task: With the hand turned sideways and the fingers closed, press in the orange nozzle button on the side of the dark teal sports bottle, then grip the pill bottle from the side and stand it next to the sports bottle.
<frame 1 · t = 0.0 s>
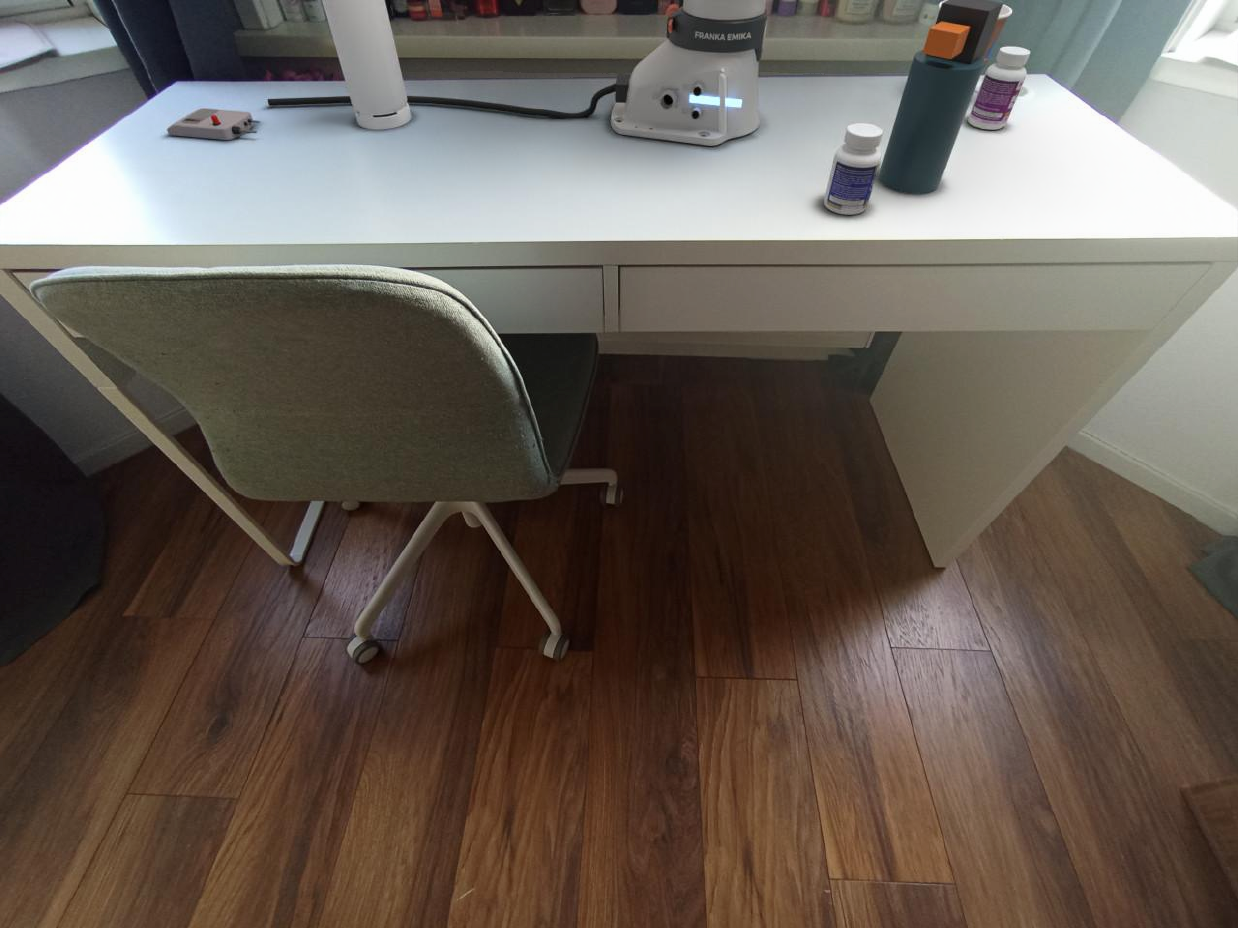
pill bottle 2: (844, 207, 79), on the table
sports bottle: (907, 180, 83), on the table
bottle: (385, 120, 97), on the table
pill bottle: (985, 125, 96), on the table
coffee cup: (944, 96, 104), on the table
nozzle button: (946, 40, 69), point 16 cm above the table, slide at -0.1 cm
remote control: (220, 131, 95), on the table
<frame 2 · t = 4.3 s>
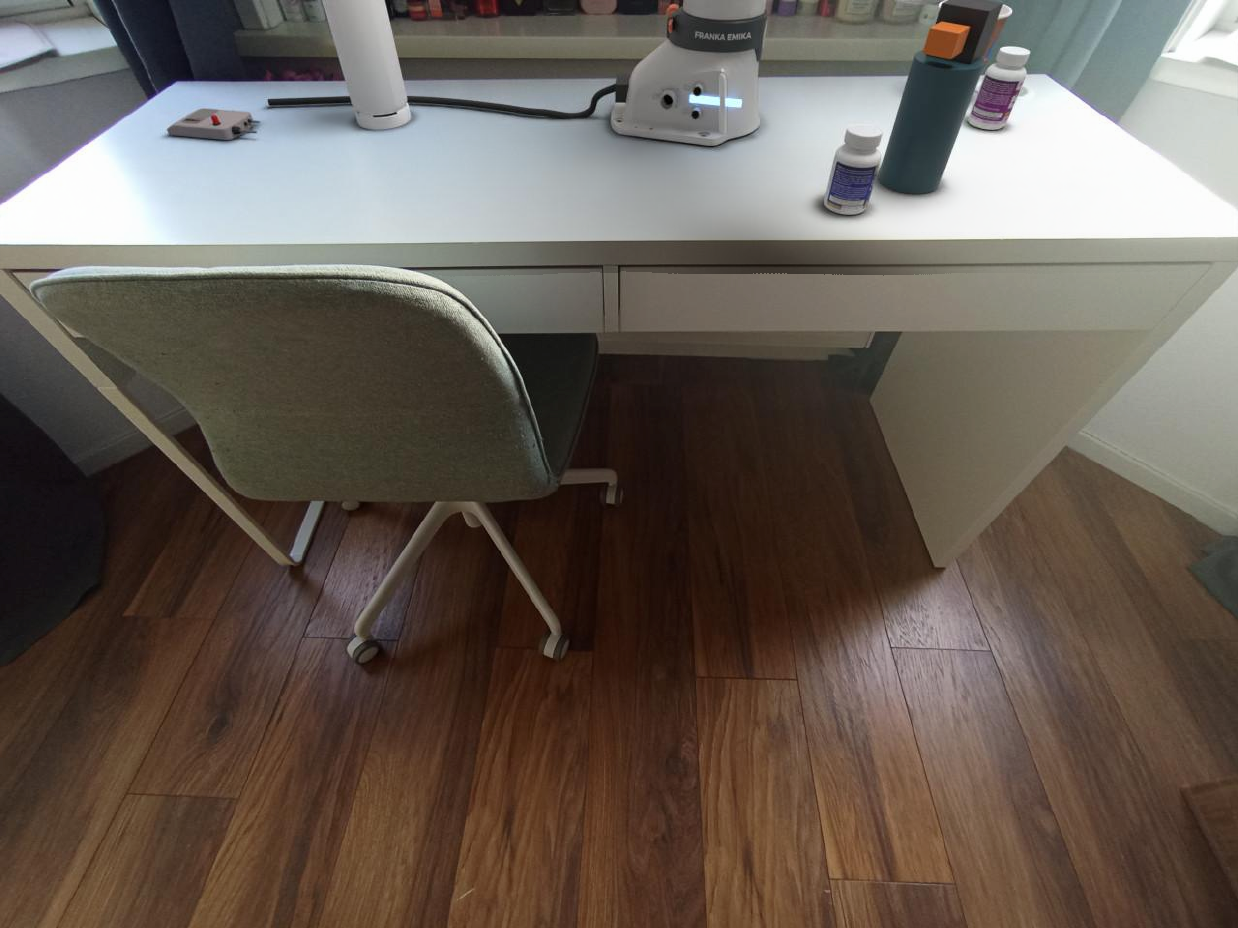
nothing on the table moved.
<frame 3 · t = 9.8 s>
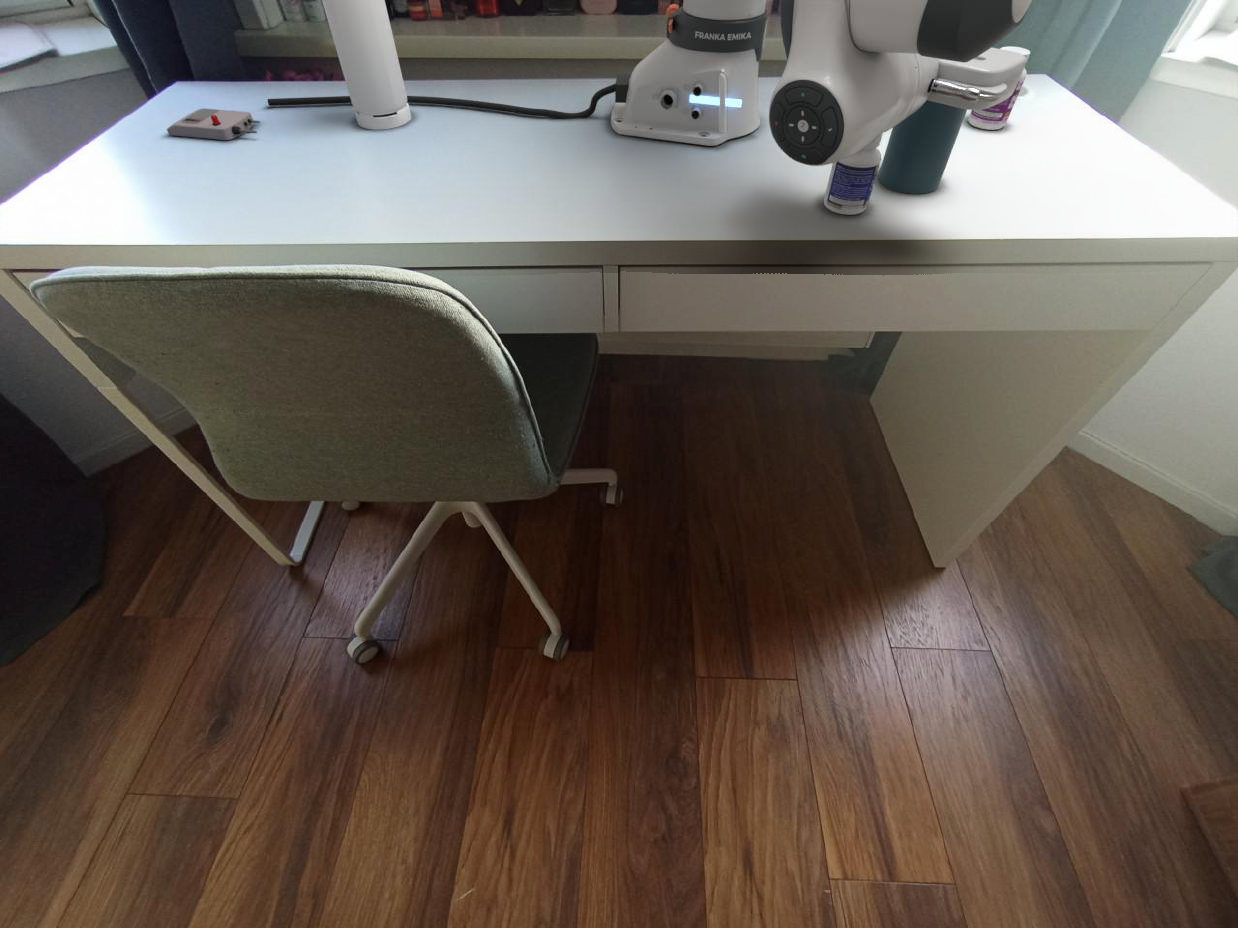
hand: (940, 43, 68), 16 cm above the table, tool horizontal, fingers closed, pressing on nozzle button
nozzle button: (947, 39, 69), point 16 cm above the table, slide at 0.3 cm, touching gripper
everything else where it was.
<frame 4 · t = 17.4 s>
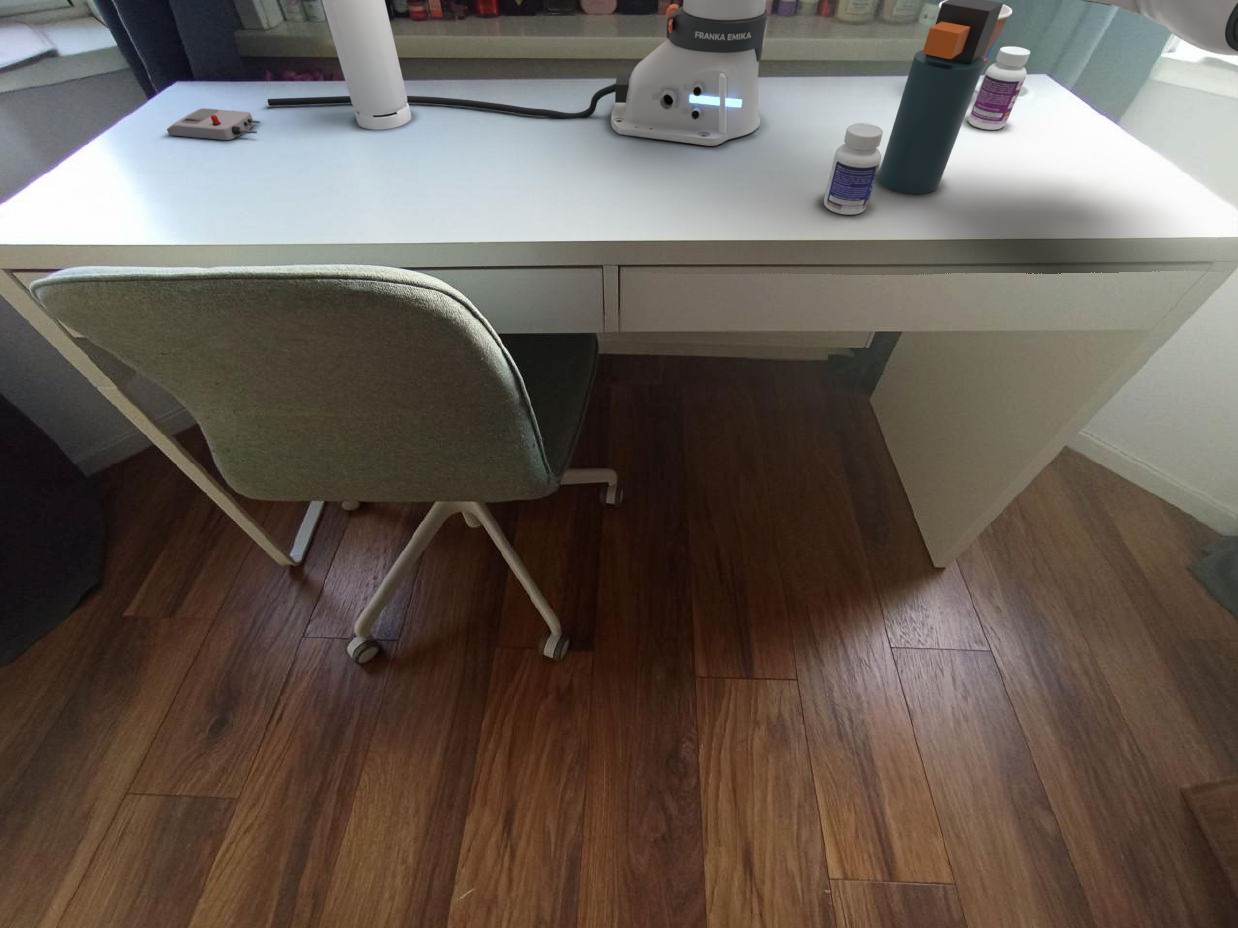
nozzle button: (946, 40, 69), point 16 cm above the table, slide at -0.1 cm
everything else where it was.
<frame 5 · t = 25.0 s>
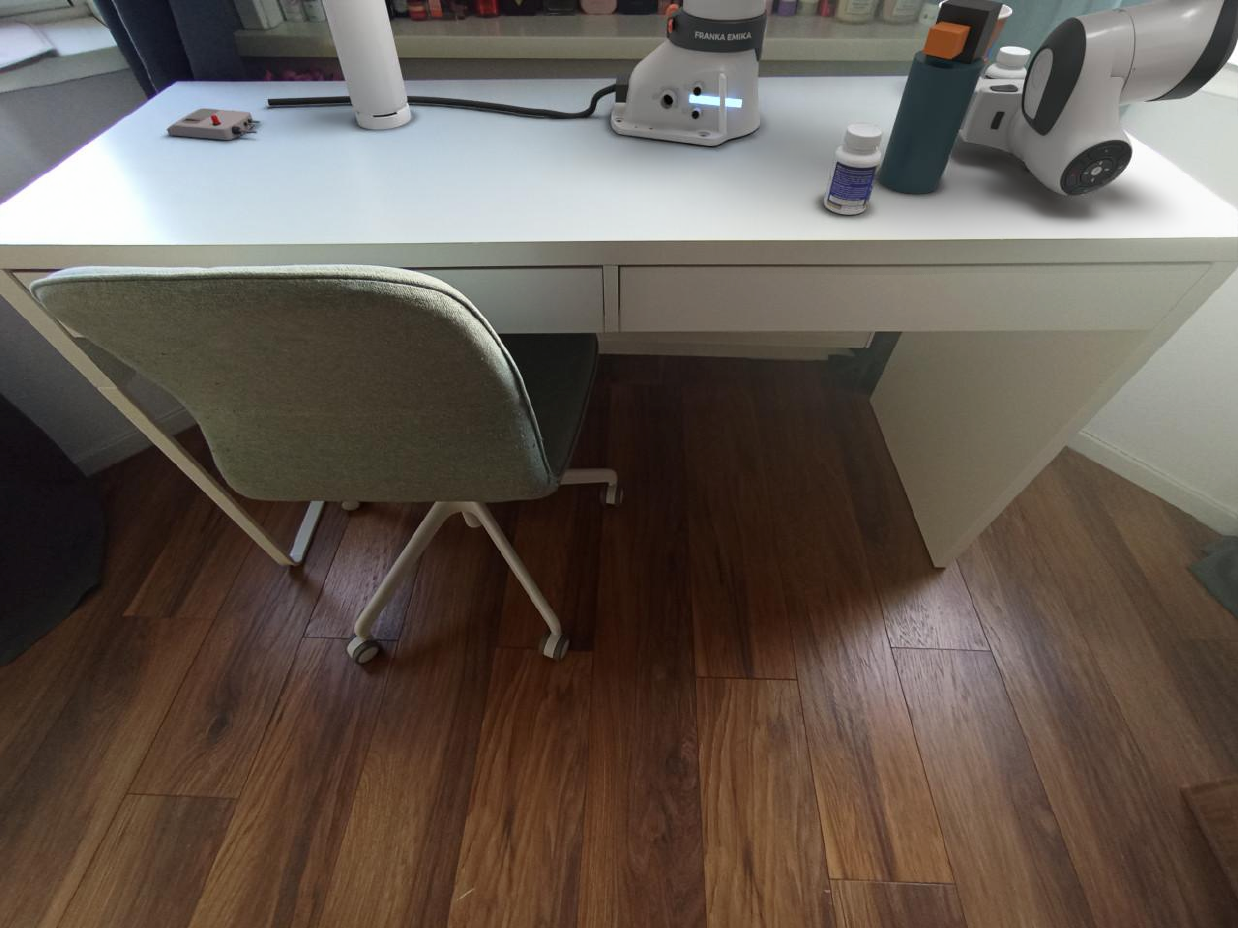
hand: (999, 81, 92), 6 cm above the table, tool horizontal, fingers closed on pill bottle, 5 cm apart
pill bottle: (985, 125, 96), on the table, touching gripper
everything else where it was.
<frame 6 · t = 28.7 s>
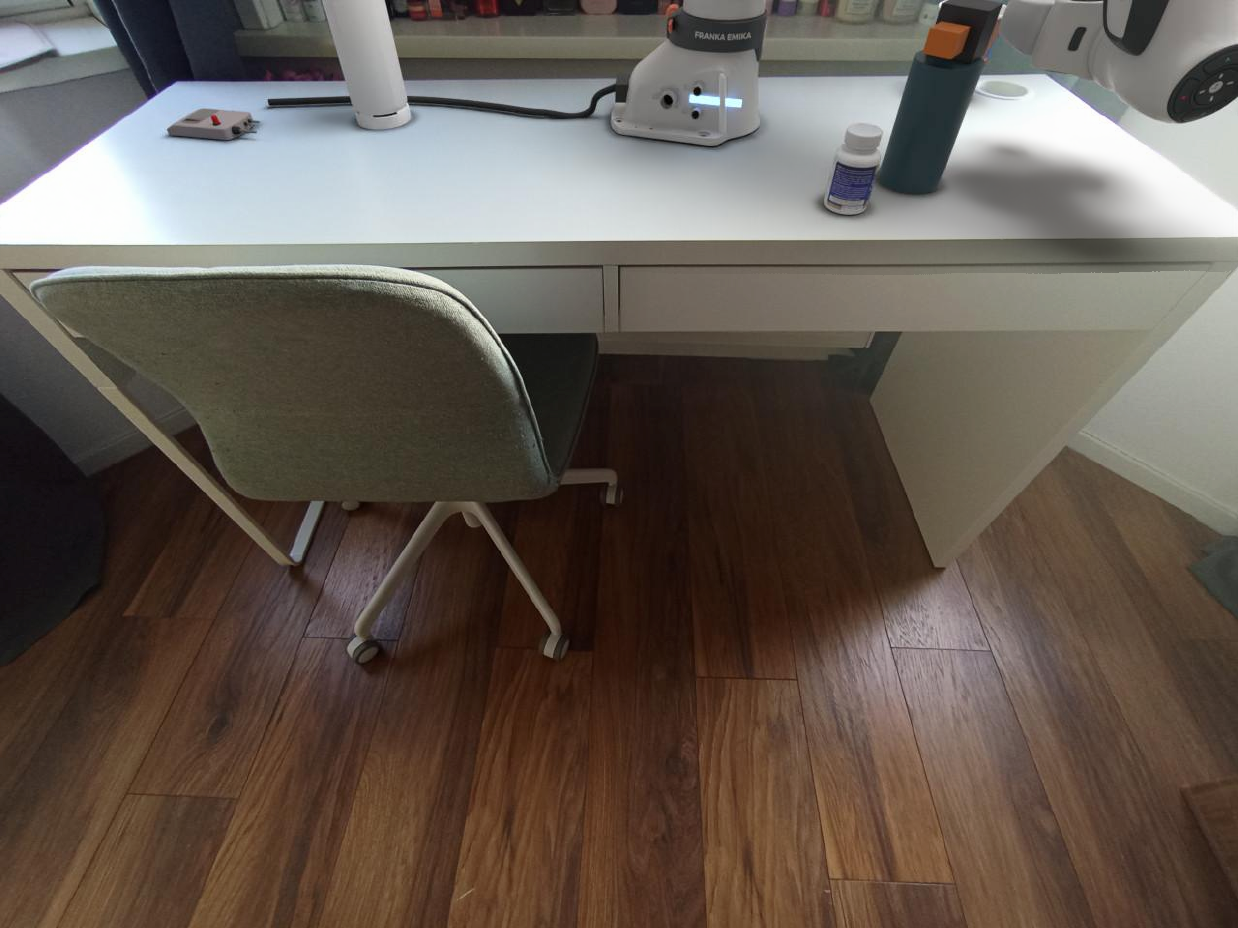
hand: (1069, 3, 77), 17 cm above the table, tool horizontal, fingers closed on pill bottle, 5 cm apart
pill bottle: (1049, 59, 81), point 11 cm above the table, touching gripper
everything else where it was.
when the fingers open (5 cm above the table, at t = 32.8 s): pill bottle stays where it is, on the table.
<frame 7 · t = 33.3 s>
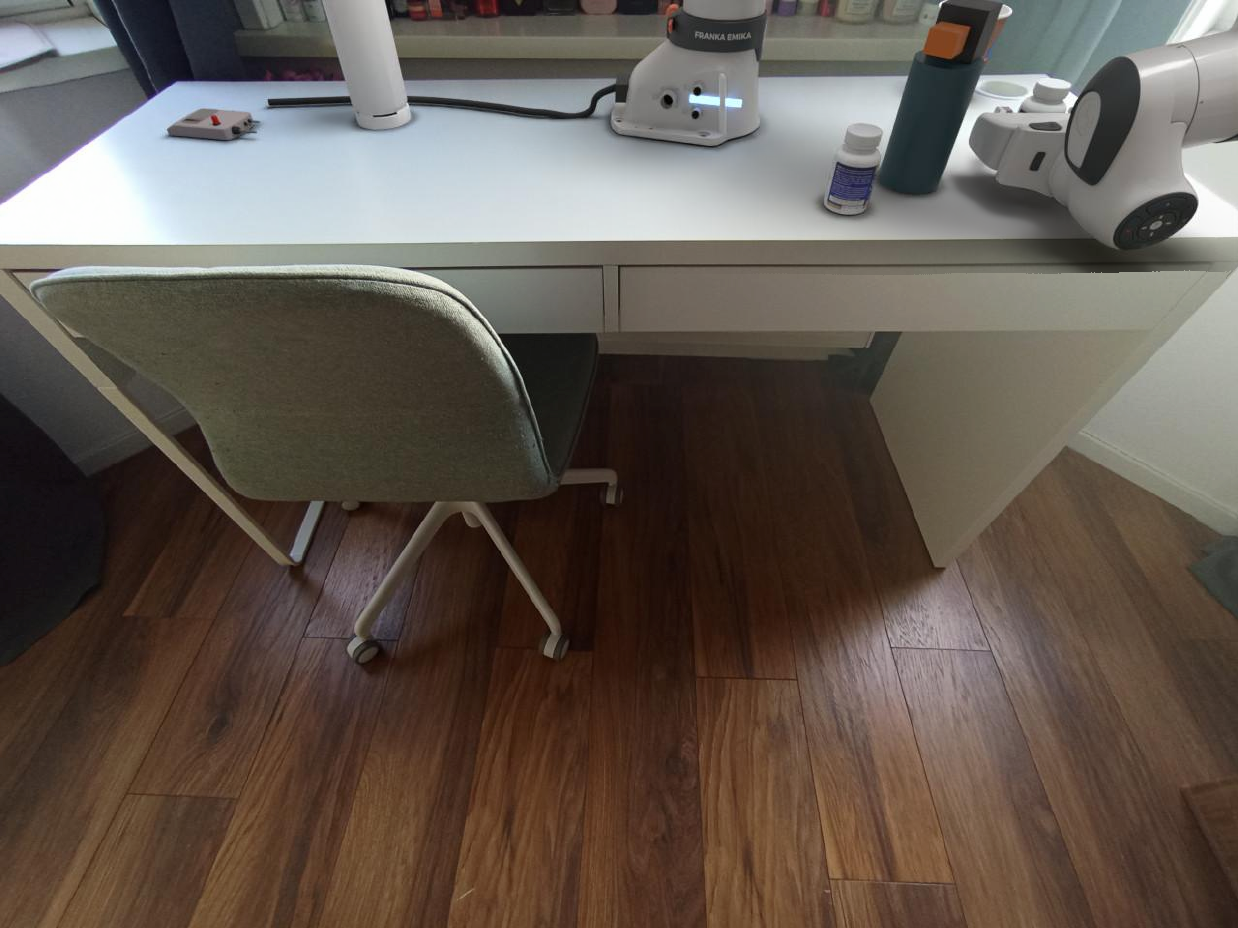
hand: (1035, 113, 83), 6 cm above the table, tool horizontal, fingers open, 8 cm apart
pill bottle: (1018, 162, 87), on the table
everything else where it was.
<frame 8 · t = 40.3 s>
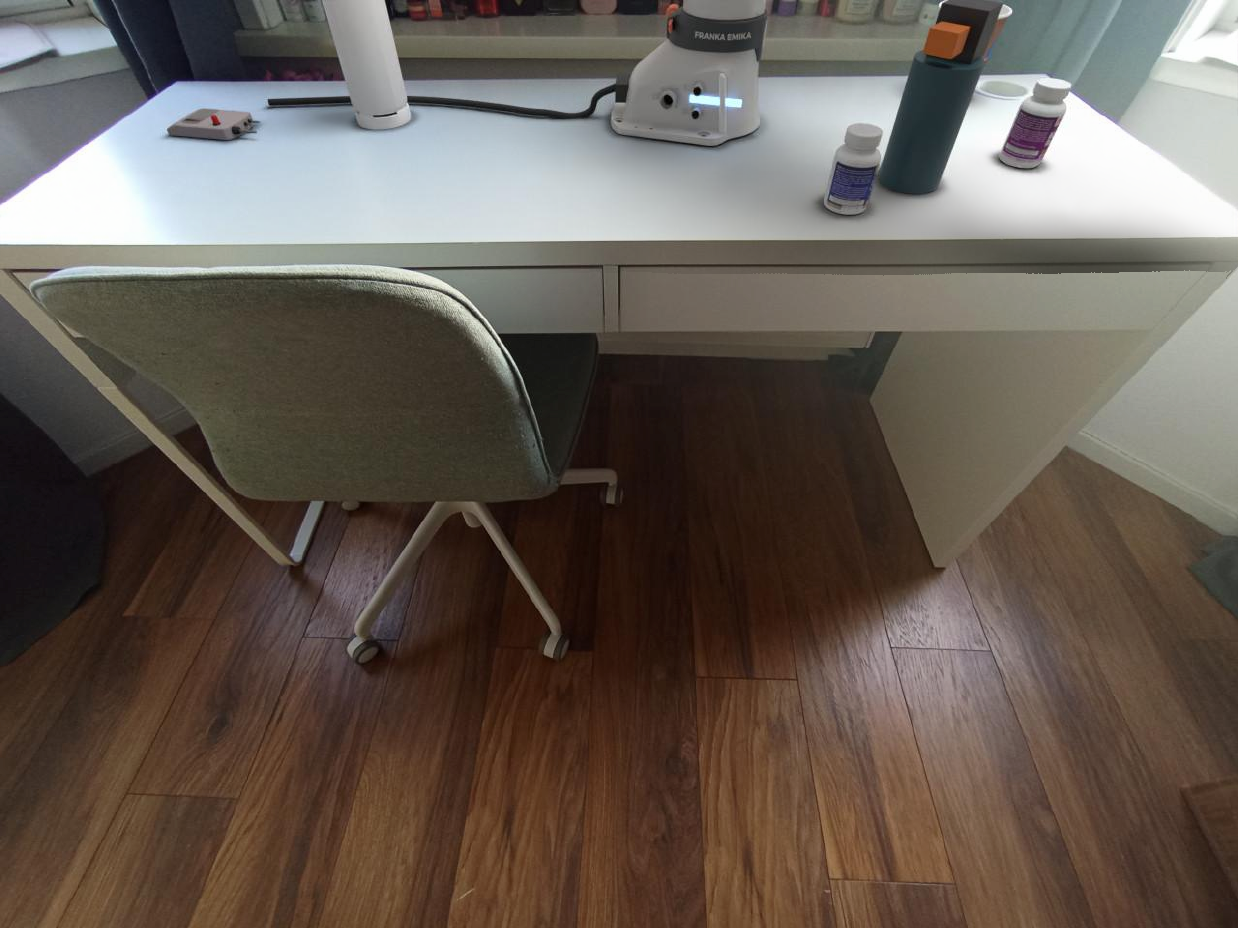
nothing on the table moved.
at the end: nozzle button pulled out 0.7 cm at the most during the clip, back to where it started at the end; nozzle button slide at -0.1 cm; pill bottle inside the target area on the table beside the sports bottle (0.1 cm from its centre), on the table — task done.
